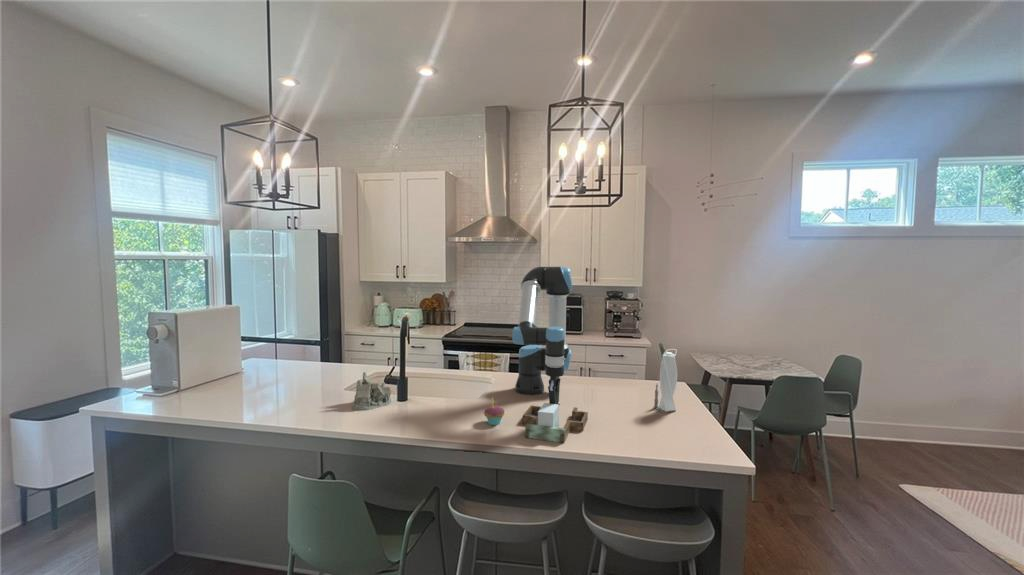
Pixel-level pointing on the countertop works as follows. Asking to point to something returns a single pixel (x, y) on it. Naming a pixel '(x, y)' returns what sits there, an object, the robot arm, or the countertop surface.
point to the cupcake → (494, 414)
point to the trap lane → (552, 432)
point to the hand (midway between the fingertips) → (553, 421)
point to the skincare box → (549, 415)
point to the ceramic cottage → (370, 395)
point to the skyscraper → (667, 382)
